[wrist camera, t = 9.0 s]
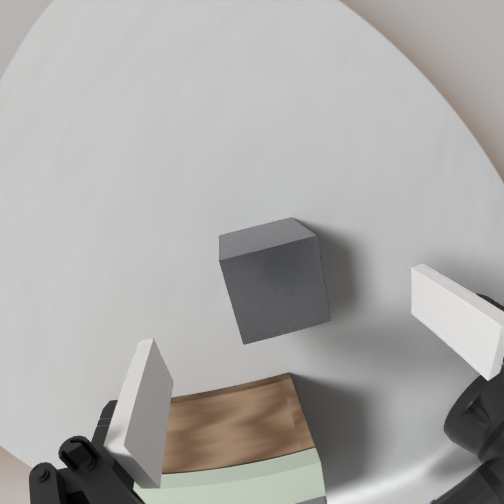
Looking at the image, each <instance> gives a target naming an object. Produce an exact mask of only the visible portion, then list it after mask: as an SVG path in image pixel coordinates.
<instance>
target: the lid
mask: <svg viewBox="0 0 504 504" xmlns="http://www.w3.org/2000/svg"><path fill="white" fill-rule="evenodd" d="M133 490H134V491H135V492H136V493H137V494H138V495H139V496H140V497H141V499H142V500H143V501H144V502H145V503H146V504H327V500H326V493H325V486H324V480H323V473H322V467H321V461H320V458H319V456H318V453H317V450H316V447H315V448H312V449H308V450H305V451H301V452H298V453H294V454H290V455H286V456H282V457H278V458H274V459H269V460H265V461H260V462H255V463H250V464H245V465H239V466H233V467H227V468H221V469H214V470H206V471H198V472H188V473H177V474H162V476H161V486H160V488H155V489H141V488H140V486H139V485H138V484H137V483H136V482H135V481H134V487H133Z"/></svg>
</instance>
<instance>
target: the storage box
mask: <svg viewBox="0 0 504 504" xmlns="http://www.w3.org/2000/svg"><path fill="white" fill-rule="evenodd" d="M312 448H315V445H314V442H313V439H312V436H311V434H310V431H309V428H308V425H307V422H306V419H305V416H304V413H303V411H302V408H301V405H300V402H299V399H298V396H297V393H296V390H295V388H294V385H293V382H292V379H291V376H290V373H286V374H282V375H278V376H275V377H271V378H267V379H263V380H259V381H255V382H250V383H246V384H242V385H237V386H233V387H228V388H223V389H218V390H213V391H208V392H203V393H197V394H192V395H186V396H180V397H174V398H171V402H170V409H169V416H168V424H167V432H166V440H165V448H164V457H163V466H162V474H177V473H188V472H198V471H206V470H214V469H221V468H227V467H233V466H239V465H245V464H250V463H255V462H260V461H265V460H269V459H274V458H278V457H282V456H286V455H290V454H294V453H298V452H301V451H305V450H308V449H312Z"/></svg>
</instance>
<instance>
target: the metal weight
mask: <svg viewBox="0 0 504 504" xmlns="http://www.w3.org/2000/svg"><path fill="white" fill-rule="evenodd" d="M219 262H220V265H221V269H222V272H223V276H224V279H225V283H226V286H227V290H228V293H229V297H230V300H231V304H232V307H233V310H234V314H235V317H236V321H237V324H238V327H239V331H240V334H241V337H242V341H243V344H248V343H252V342H256V341H260V340H264V339H268V338H272V337H276V336H279V335H283V334H287V333H290V332H294V331H297V330H301V329H304V328H308V327H311V326H315V325H318V324H321V323H325V322H328V321H330V313H329V307H328V300H327V293H326V287H325V280H324V274H323V268H322V262H321V256H320V250H319V245H318V239H317V235H315V234H314V233H313V232H311V231H310V230H308V229H307V228H306V227H304V226H303V225H301V224H300V223H299V222H297V221H296V220H294V219H293V218H287V219H283V220H279V221H275V222H271V223H267V224H263V225H259V226H255V227H251V228H247V229H243V230H239V231H235V232H231V233H227V234H223V235H220V236H219Z"/></svg>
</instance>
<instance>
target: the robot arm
mask: <svg viewBox="0 0 504 504" xmlns="http://www.w3.org/2000/svg"><path fill="white" fill-rule="evenodd" d="M411 284H412V314H413V315H414V316H415V317H416V318H417V319H419V320H420V321H421V322H422V323H423V324H424V325H426V326H427V327H428V328H429V329H430V330H431V331H433V332H434V333H435V334H436V335H437V336H438V337H439V338H441V339H442V340H443V341H444V342H445V343H446V344H447V345H449V346H450V347H451V348H452V349H453V350H454V351H455V352H457V353H458V354H459V355H460V356H461V357H462V358H463V359H464V360H465V361H467V362H468V363H469V364H470V365H471V366H472V367H473V368H474V369H475V370H476V371H478V372H479V373H480V374H481V376H480V377H479V378H478V379H477V380H476V381H474V382H473V383H472V384H471V385H470V386H469V388H468V389H467V390H466V391H465V392H464V393H463V394H462V396H461V397H460V398H459V399H458V401H457V402H456V403H455V405H454V406H453V408H452V409H451V411H450V413H449V415H448V417H447V419H446V421H445V425H444V432H445V434H446V435H447V436H448V437H449V439H450V440H451V441H452V442H454V443H456V444H458V445H459V446H461V447H463V448H464V449H466V450H468V451H470V452H472V453H474V454H475V455H476V456H477V457H478V458H479V459H480V461H481V462H482V463H483V464H482V465H481V466H480V467H478V468H477V469H476V470H475V471H473V472H472V473H471V474H470V475H469V476H467V477H466V478H465V479H464V480H462V481H461V482H460V483H458V484H457V485H456V486H454V487H453V488H452V489H450V490H449V491H447V492H446V493H445V494H443V495H442V496H440V497H439V498H437V499H436V500H432V501H431V502H430V504H504V366H503V365H502V363H503V362H504V306H502V305H500V304H499V303H497V302H494V300H492V299H491V298H489V297H487V296H484V295H481V294H474V293H473V292H471V291H469V290H468V289H466V288H464V287H462V286H461V285H459V284H457V283H456V282H454V281H452V280H450V279H449V278H447V277H445V276H443V275H442V274H440V273H438V272H436V271H435V270H433V269H431V268H429V267H427V266H426V265H424V264H420V265H417V266H414V267H412V268H411ZM172 388H173V380H172V377H171V375H170V373H169V371H168V369H167V367H166V365H165V363H164V360H163V358H162V356H161V354H160V352H159V349H158V347H157V345H156V343H155V340H154V338H152V339H147V340H142V341H139V343H138V346H137V348H136V351H135V354H134V356H133V359H132V362H131V364H130V367H129V370H128V373H127V376H126V378H125V381H124V384H123V387H122V390H121V393H120V396H119V399H118V400H113V401H109V403H108V404H107V405H106V406H105V407H104V409H103V410H102V413H101V416H100V420H99V421H98V424H97V427H96V430H95V433H94V436H93V438H92V441H91V442H90V441H89V440H88V439H87V438H86V437H83V436H74V437H72V438H69V439H68V440H66V441H65V442H64V443H63V444H62V445H61V447H60V449H59V458H60V459H61V460H62V461H63V462H64V463H65V465H66V466H67V467H68V468H63V469H59V470H57V469H56V468H55V467H54V466H53V465H52V464H51V463H47V462H44V463H40V464H38V465H36V466H35V467H34V468H33V469H32V471H31V473H30V476H29V488H30V502H31V504H146V503H145V502H144V501H143V500H142V499H141V497H140V496H139V495H138V494H137V493H136V492H135V491H134V490H133V487H134V481H135V482H136V483H137V484H138V485H139V486H140V488H141V489H155V488H160V486H161V476H162V466H163V457H164V448H165V440H166V432H167V424H168V416H169V409H170V402H171V395H172Z"/></svg>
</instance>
